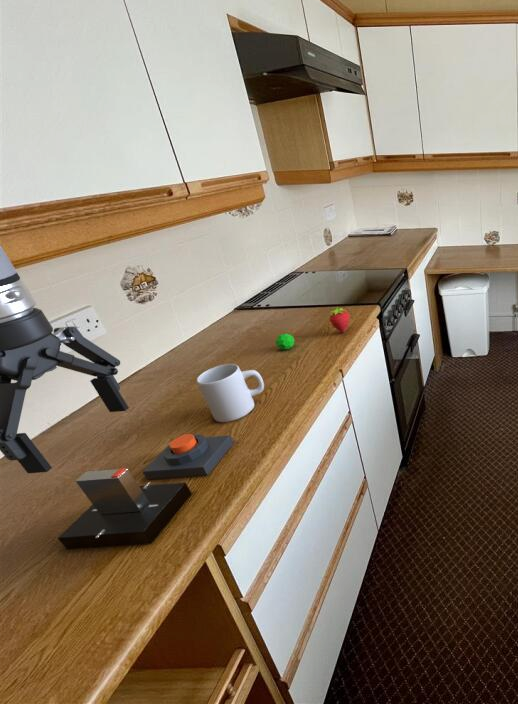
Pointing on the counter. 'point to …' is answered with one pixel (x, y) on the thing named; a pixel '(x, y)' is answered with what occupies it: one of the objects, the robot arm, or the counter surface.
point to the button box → (189, 459)
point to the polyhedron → (285, 341)
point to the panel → (127, 520)
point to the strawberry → (339, 319)
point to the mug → (228, 391)
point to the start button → (183, 444)
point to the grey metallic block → (113, 491)
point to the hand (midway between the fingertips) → (83, 437)
